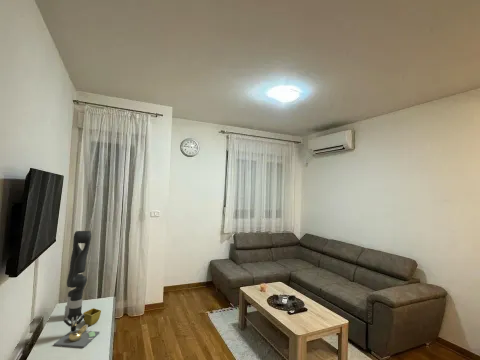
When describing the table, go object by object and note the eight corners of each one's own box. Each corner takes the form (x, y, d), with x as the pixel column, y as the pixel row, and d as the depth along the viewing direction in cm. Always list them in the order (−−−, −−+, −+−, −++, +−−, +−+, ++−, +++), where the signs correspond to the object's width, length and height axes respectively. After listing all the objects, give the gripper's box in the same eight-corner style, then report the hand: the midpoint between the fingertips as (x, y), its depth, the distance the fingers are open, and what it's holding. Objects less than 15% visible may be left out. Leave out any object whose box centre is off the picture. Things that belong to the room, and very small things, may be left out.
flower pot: (100, 322, 188) (101, 310, 189) (90, 327, 180) (91, 315, 181) (92, 319, 191) (93, 308, 192) (81, 325, 183) (83, 312, 184)
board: (53, 345, 157) (53, 343, 157) (73, 330, 175) (73, 328, 175) (85, 348, 157) (85, 345, 157) (101, 332, 175) (101, 330, 175)
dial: (76, 342, 160) (77, 336, 160) (66, 341, 160) (66, 335, 161) (91, 329, 175) (91, 324, 175) (81, 329, 175) (82, 323, 175)
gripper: (64, 310, 164) (62, 336, 163) (87, 305, 173) (85, 330, 172) (63, 306, 169) (60, 331, 168) (85, 301, 178) (83, 325, 177)
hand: (73, 331), depth 170 cm, fingers closed
